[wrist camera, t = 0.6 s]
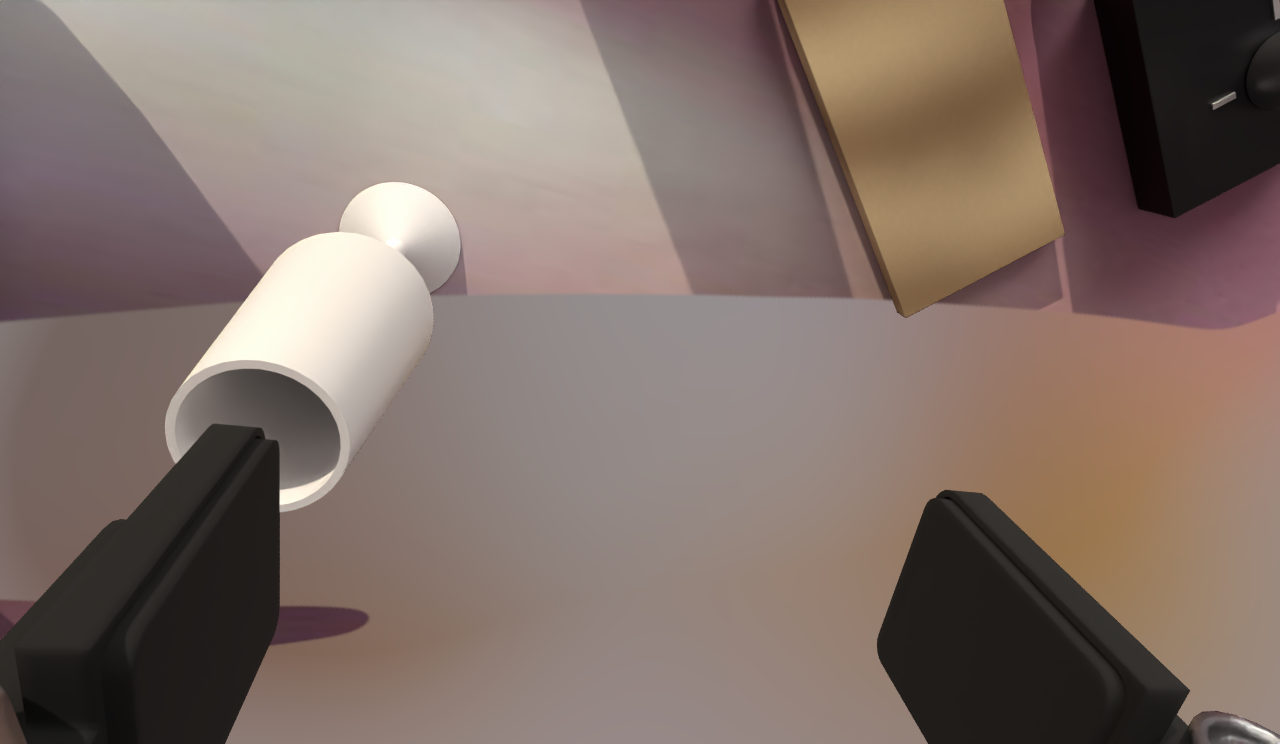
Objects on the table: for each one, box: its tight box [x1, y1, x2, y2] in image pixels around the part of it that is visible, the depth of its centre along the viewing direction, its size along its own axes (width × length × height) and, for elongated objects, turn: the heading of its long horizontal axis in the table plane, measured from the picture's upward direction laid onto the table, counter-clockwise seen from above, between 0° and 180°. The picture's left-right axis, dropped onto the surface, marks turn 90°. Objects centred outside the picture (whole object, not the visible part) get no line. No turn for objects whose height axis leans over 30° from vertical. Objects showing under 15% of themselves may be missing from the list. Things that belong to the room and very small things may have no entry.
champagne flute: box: [165, 182, 460, 512], centre depth 31 cm, size 7×7×24 cm
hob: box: [1094, 0, 1280, 218], centre depth 43 cm, size 14×12×3 cm
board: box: [777, 0, 1065, 318], centre depth 43 cm, size 22×11×1 cm, turn 28°
